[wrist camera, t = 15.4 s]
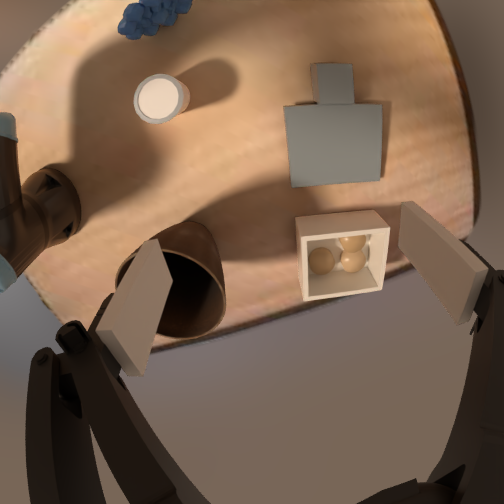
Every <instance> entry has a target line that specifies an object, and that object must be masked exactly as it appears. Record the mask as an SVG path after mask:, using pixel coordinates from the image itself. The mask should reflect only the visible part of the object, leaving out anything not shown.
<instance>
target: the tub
mask: <svg viewBox="0 0 504 504" xmlns="http://www.w3.org/2000/svg"><path fill="white" fill-rule="evenodd" d="M295 228H296V243H297V259H298V277H299V281H300V286H301V291H302V295H303V300H304V301H308V300H316V299H324V298H331V297H338V296H345V295H352V294H359V293H365V292H372V291H378V290H382V286H383V280H384V274H385V267H386V260H387V252H388V244H389V235H390V226H389V225H388V224H387V223H386V222H385V221H384V220H383V219H382V218H381V217H380V216H379V214H378V213H377V212H376V211H375V210H363V211H351V212H341V213H330V214H320V215H310V216H301V217H295Z"/></svg>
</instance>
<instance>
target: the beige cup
mask: <svg viewBox="0 0 504 504" xmlns="http://www.w3.org/2000/svg"><path fill="white" fill-rule="evenodd" d="M133 103H134V107H135V111H136V113H137V114H138V115H139V116H140V118H141V119H142V120H144V121H146V122H148V123H152V124H161V123H164V122H167V121H170V120H171V119H173V118H174V117H176V116H177V115H179V114H180V113H182V112H183V111H184V110H186V108H187V106H188V105H189V103H190V92H189V89H188V88H187V87H186V86H185V84H183V83H182V82H180V81H179V80H177V79H176V78H174V77H172V76H169V75H167V74H155V75H152V76H150V77H147V78H146V79H145V80H144V81H142V82H141V83H140V84H139V86H138V88H137V90H136V91H135V94H134V102H133Z"/></svg>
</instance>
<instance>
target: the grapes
mask: <svg viewBox="0 0 504 504" xmlns="http://www.w3.org/2000/svg"><path fill="white" fill-rule="evenodd" d="M191 5H192V0H139V3H132V4H129V5H128V6H127V7H126V9H125V10H124V13H123V19H122V20H121V21H120V23H119V25H118V33H120V34H121V35H126V37H127V38H128V39H130V40H137V39H140V38H141V36H142V34H144V35H146V36H153V35H155V34H156V33H157V31H158V29H159V27H160V24H161V25H164V26H172V25H173V24H174V23H175V21H176V19H177V17H178V14H184V13H187V12H188V11H189V9H190V7H191Z"/></svg>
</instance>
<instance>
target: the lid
mask: <svg viewBox="0 0 504 504" xmlns="http://www.w3.org/2000/svg"><path fill="white" fill-rule="evenodd" d="M310 68H311V77H312V88H313V99H314V101H316V102H317V104H306V105H291V106H283V109H284V118H285V127H286V137H287V147H288V158H289V169H290V181H291V187H292V188H297V187H307V186H317V185H329V184H341V183H355V182H371V181H380V171H381V153H382V105H381V104H373V103H355V100H354V82H353V68H352V64H342V63H313V64H310Z"/></svg>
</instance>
